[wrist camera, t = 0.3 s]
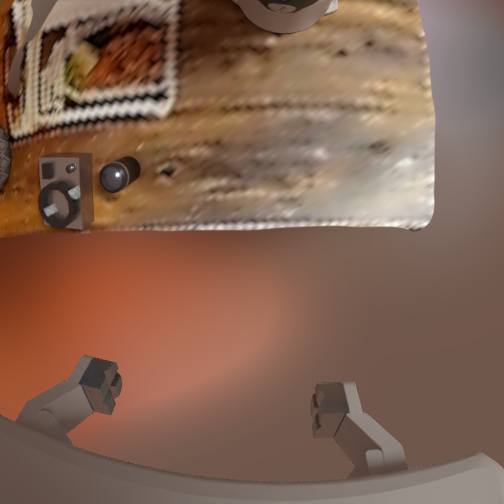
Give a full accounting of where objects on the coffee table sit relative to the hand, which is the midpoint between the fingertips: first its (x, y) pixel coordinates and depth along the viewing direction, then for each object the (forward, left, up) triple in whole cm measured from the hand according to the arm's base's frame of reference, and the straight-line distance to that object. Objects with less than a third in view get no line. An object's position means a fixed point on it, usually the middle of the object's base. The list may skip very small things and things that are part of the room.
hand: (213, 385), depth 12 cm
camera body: (+7, -36, -47) cm, 59 cm away
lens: (+3, -23, -47) cm, 52 cm away
